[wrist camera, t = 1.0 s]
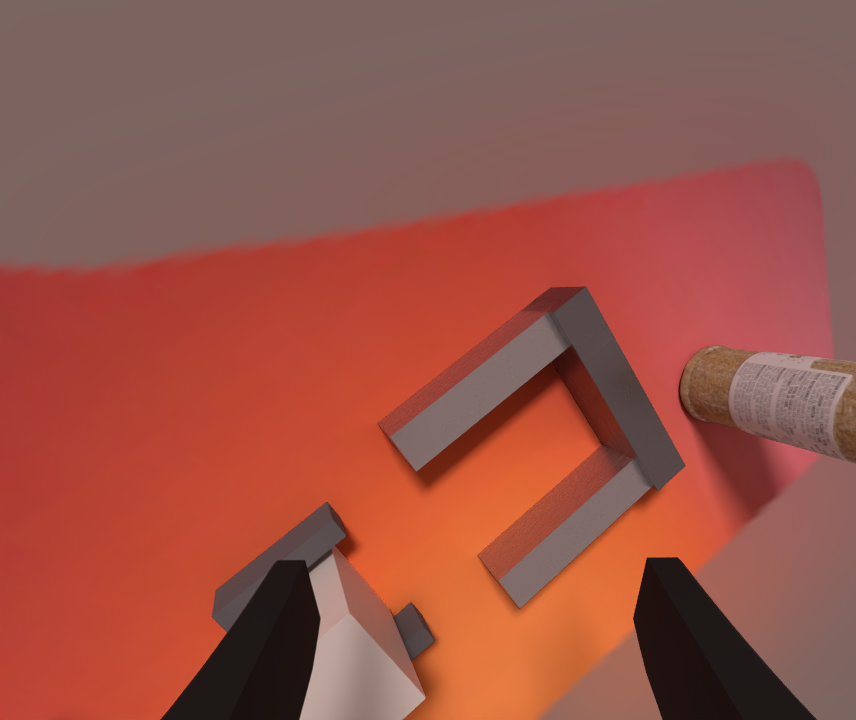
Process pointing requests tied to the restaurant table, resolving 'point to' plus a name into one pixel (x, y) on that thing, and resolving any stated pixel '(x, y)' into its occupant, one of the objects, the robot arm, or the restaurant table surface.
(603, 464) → the block
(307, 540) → the pair of grey blocks
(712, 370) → the sprinkles bottle
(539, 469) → the restaurant table surface
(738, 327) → the restaurant table surface
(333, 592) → the plug
